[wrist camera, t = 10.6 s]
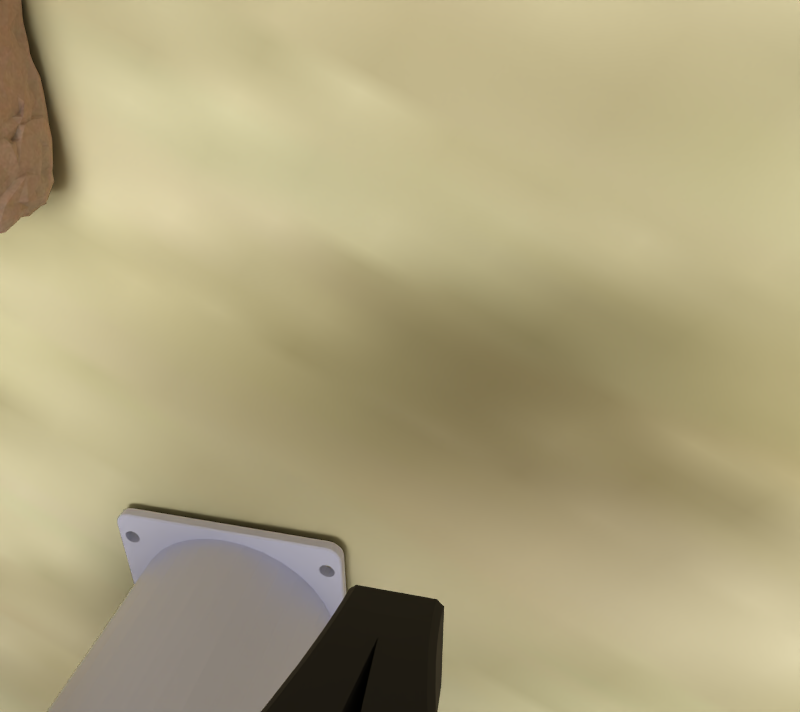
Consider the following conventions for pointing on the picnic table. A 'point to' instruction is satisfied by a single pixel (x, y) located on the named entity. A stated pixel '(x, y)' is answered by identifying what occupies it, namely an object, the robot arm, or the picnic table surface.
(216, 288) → the picnic table surface
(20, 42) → the brown faceted rock
